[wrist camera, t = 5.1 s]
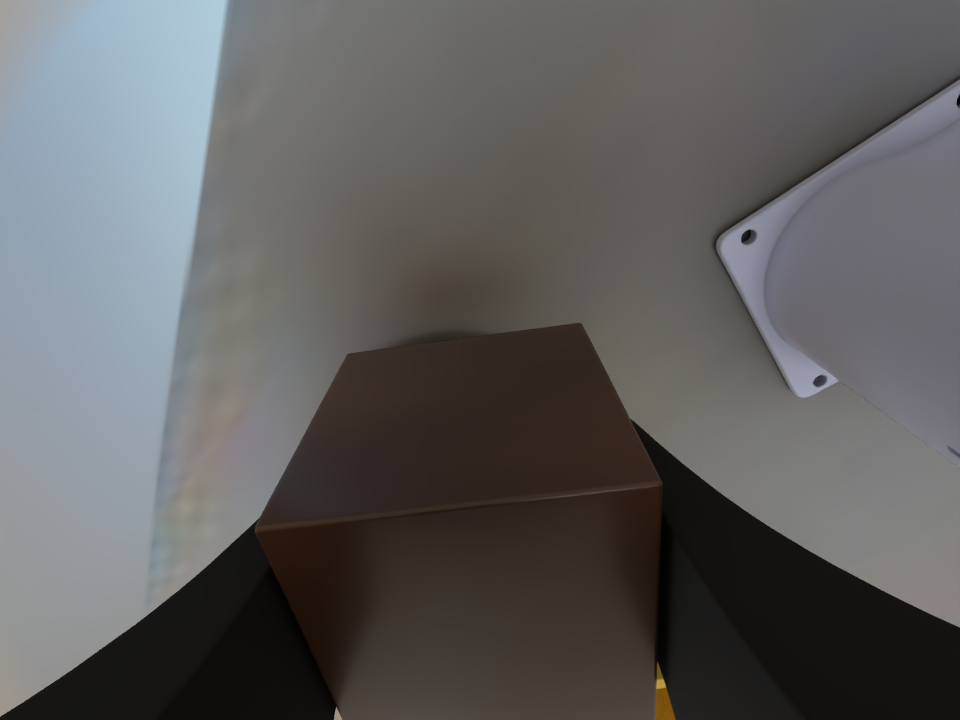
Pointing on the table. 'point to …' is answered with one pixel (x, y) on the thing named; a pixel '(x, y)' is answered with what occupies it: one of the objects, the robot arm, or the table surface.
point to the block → (474, 535)
